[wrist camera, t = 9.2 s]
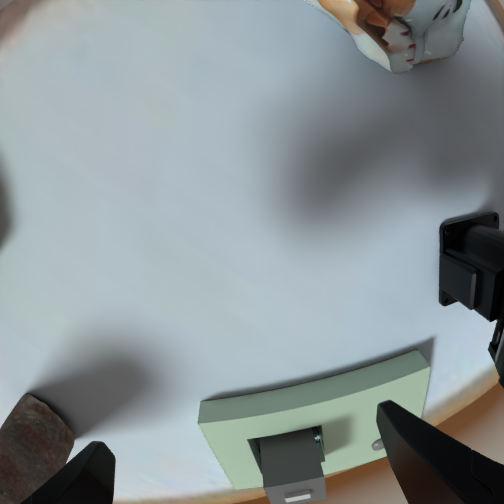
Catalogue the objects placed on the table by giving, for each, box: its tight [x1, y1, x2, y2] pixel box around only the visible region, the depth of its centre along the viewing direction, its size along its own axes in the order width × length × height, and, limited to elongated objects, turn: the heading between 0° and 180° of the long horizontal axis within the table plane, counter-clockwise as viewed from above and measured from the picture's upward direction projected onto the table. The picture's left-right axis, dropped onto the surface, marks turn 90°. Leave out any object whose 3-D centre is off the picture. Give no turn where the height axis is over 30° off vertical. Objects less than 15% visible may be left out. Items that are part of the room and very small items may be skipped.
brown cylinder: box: [0, 394, 74, 504], centre depth 13 cm, size 8×7×20 cm
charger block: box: [259, 427, 326, 504], centre depth 20 cm, size 4×4×7 cm
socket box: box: [198, 350, 431, 489], centre depth 22 cm, size 18×11×3 cm, turn 102°
